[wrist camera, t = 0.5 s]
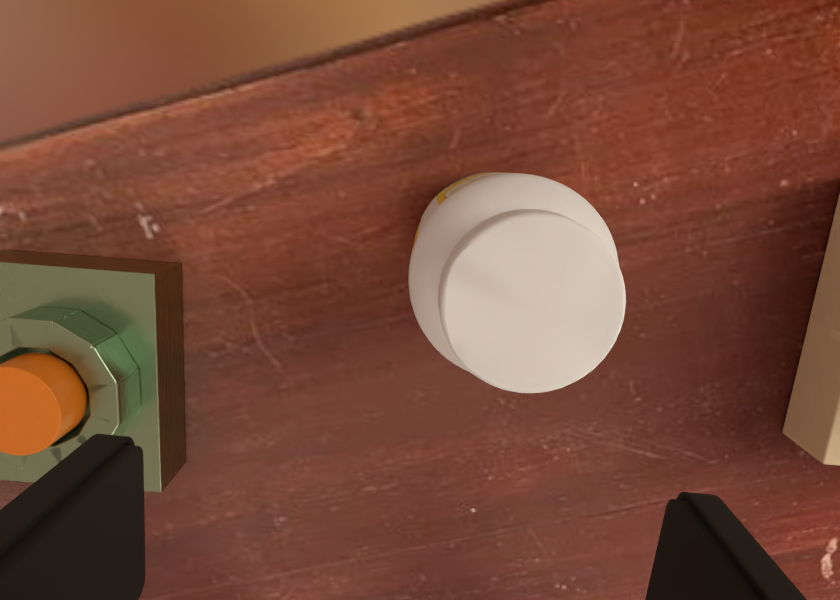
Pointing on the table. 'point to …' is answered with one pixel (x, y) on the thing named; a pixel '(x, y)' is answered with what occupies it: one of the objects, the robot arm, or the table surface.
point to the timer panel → (820, 365)
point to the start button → (38, 402)
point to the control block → (102, 351)
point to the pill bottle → (516, 281)
